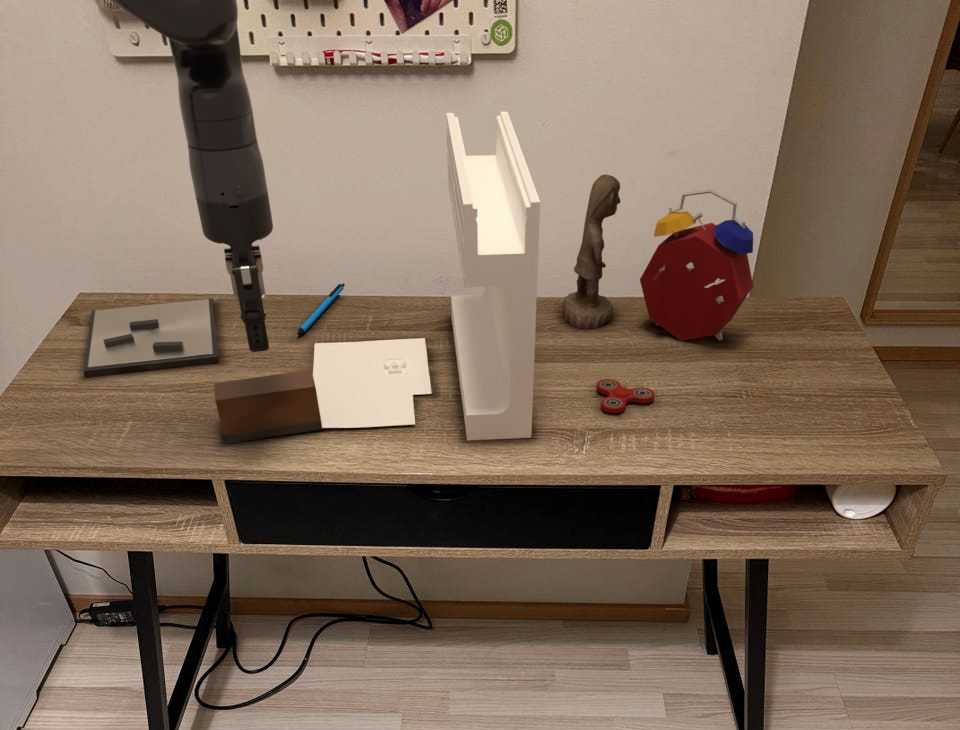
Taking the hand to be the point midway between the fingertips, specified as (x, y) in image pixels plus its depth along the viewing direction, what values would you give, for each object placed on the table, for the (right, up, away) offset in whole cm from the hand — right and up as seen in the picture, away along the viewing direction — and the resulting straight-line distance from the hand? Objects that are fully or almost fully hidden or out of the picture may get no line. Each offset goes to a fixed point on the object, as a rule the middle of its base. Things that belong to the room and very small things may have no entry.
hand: (257, 333), depth 110 cm
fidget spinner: (+44, -4, +14) cm, 47 cm away
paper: (+11, -1, +17) cm, 21 cm away
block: (+27, +1, +19) cm, 34 cm away
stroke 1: (-25, +6, +24) cm, 35 cm away
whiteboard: (-22, +8, +27) cm, 36 cm away
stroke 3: (-18, +5, +22) cm, 29 cm away
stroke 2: (-23, +10, +27) cm, 37 cm away
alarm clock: (+56, +9, +28) cm, 63 cm away
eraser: (0, -9, +8) cm, 12 cm away
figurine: (+42, +13, +33) cm, 55 cm away
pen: (+2, +14, +34) cm, 37 cm away
